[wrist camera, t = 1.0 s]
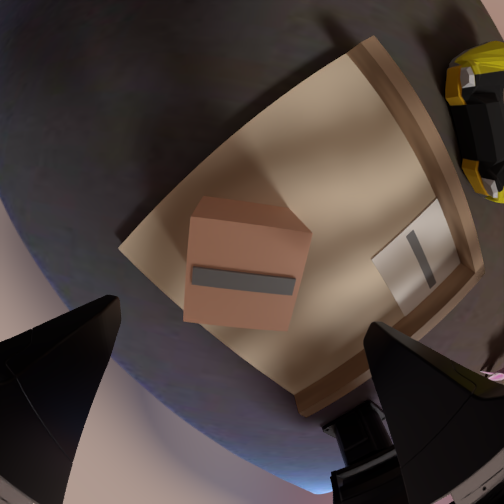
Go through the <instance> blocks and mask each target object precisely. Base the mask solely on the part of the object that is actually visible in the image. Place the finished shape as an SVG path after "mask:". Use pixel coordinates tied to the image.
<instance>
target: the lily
mask: <svg viewBox="0 0 504 504" xmlns="http://www.w3.org/2000/svg"><path fill="white" fill-rule="evenodd" d="M480 372H483V371H480ZM483 373H486V374H494V375H493V376H491V377H490V378H488V379H490V380H496V381H497V380H503V379H504V368H502V369H501V370H499V371H497V372H483ZM503 382H504V381H503ZM503 385H504V384H503Z"/></svg>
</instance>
